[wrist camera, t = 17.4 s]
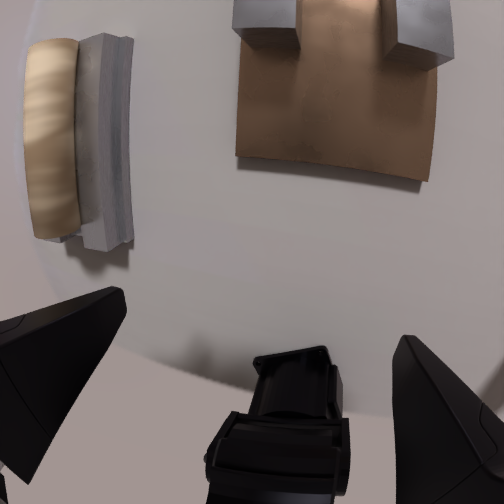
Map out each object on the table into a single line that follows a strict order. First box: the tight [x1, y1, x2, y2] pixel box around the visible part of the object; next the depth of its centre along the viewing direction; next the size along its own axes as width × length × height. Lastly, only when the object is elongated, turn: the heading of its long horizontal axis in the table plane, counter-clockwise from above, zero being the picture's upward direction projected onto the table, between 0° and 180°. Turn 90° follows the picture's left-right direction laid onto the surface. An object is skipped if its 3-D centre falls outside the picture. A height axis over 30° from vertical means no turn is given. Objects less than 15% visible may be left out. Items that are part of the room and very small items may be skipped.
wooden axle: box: [23, 38, 81, 239], centre depth 16 cm, size 14×4×4 cm, turn 177°
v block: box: [44, 33, 134, 252], centre depth 19 cm, size 16×9×3 cm, turn 177°
